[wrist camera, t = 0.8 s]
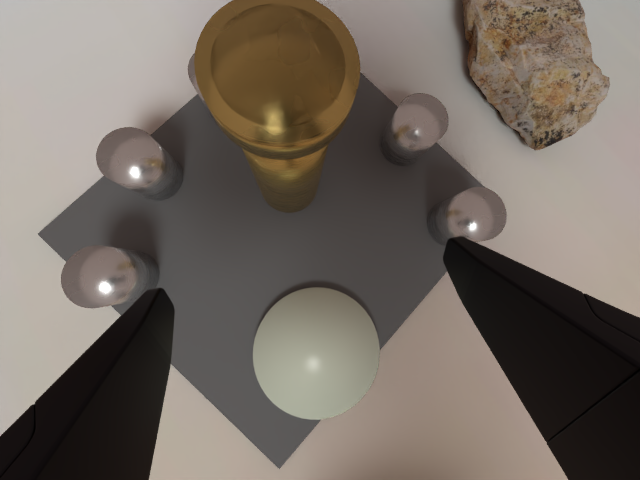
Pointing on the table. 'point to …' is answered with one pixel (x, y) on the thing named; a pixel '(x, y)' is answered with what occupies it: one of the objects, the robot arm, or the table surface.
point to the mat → (271, 248)
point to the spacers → (167, 177)
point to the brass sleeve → (279, 89)
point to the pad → (316, 353)
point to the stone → (534, 65)
